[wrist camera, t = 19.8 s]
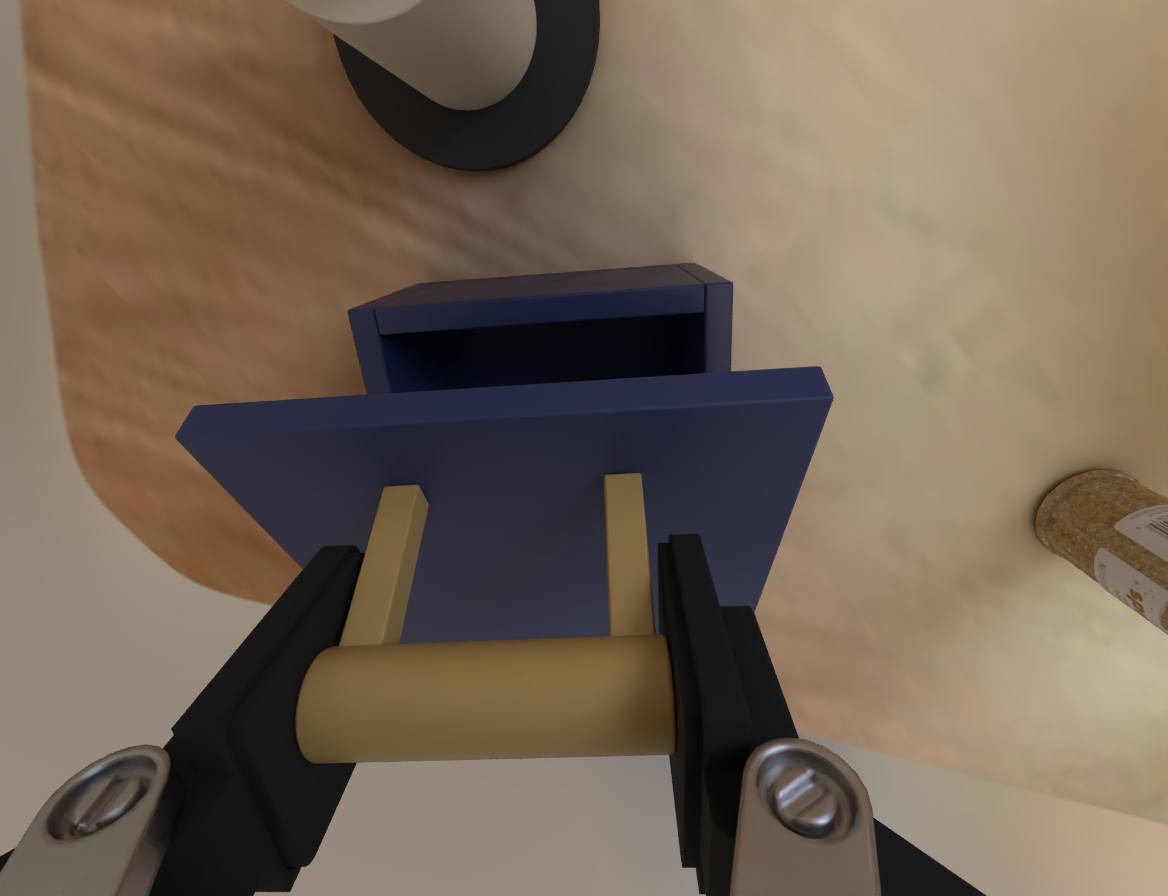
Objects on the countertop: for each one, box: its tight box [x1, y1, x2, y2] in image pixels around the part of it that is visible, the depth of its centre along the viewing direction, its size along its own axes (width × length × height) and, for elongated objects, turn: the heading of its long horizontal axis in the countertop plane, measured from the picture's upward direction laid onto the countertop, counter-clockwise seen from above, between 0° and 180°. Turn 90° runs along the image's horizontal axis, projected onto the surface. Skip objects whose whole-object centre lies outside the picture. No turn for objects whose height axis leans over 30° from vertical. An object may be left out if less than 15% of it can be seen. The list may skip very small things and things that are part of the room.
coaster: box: [334, 0, 600, 171], centre depth 19 cm, size 9×9×1 cm
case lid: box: [175, 366, 833, 764], centre depth 14 cm, size 15×11×5 cm
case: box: [348, 263, 733, 395], centre depth 21 cm, size 14×11×7 cm
